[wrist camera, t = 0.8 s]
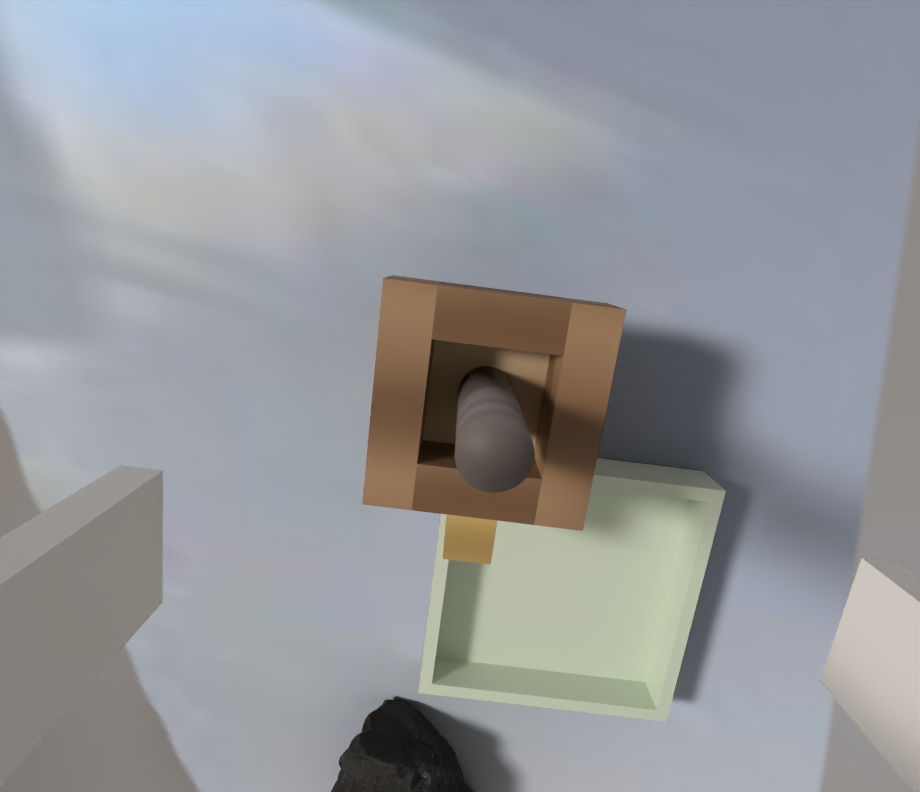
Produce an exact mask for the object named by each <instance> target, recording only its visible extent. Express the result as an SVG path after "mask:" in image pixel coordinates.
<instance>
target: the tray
mask: <svg viewBox="0 0 920 792" xmlns="http://www.w3.org/2000/svg"><path fill="white" fill-rule="evenodd" d="M725 493H726V491H725V490H724V489H723V488H722V487H721V486H720V485H719V484H717V483H716V482H715V481H714V480H713V479H712V478H711V477H710V476H709V475H707V474H706V473H705V472H704V471H698V470H690V469H682V468H674V467H666V466H658V465H650V464H642V463H634V462H626V461H618V460H610V459H602V458H597V461H596V466H595V472H594V477H593V482H592V487H591V492H590V497H589V502H588V507H587V512H586V517H585V522H584V528H583V531H579V530H570V529H562V528H554V527H546V526H538V525H529V524H521V523H513V522H505V521H497V527H496V533H495V540H494V546H493V553H492V559H491V565H490V564H481V563H473V562H465V561H456V560H448V559H443V548H444V536H445V524H446V516H447V514H441V516H440V524H439V532H438V540H437V547H436V555H435V563H434V570H433V578H432V586H431V594H430V601H429V609H428V617H427V625H426V632H425V640H424V648H423V656H422V664H421V673H420V682H419V691H418V693H423V694H432V695H440V696H449V697H458V698H466V699H475V700H483V701H492V702H501V703H509V704H518V705H527V706H535V707H544V708H553V709H561V710H570V711H579V712H587V713H596V714H604V715H613V716H622V717H630V718H639V719H648V720H656V721H665V722H666V721H667V717H668V714H669V710H670V706H671V702H672V698H673V694H674V690H675V687H676V683H677V679H678V675H679V671H680V667H681V663H682V659H683V656H684V652H685V648H686V644H687V640H688V636H689V632H690V628H691V625H692V621H693V617H694V613H695V609H696V605H697V601H698V598H699V594H700V590H701V586H702V582H703V578H704V574H705V570H706V567H707V563H708V559H709V555H710V551H711V547H712V543H713V539H714V536H715V532H716V528H717V524H718V520H719V516H720V512H721V509H722V505H723V501H724V497H725Z"/></svg>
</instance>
